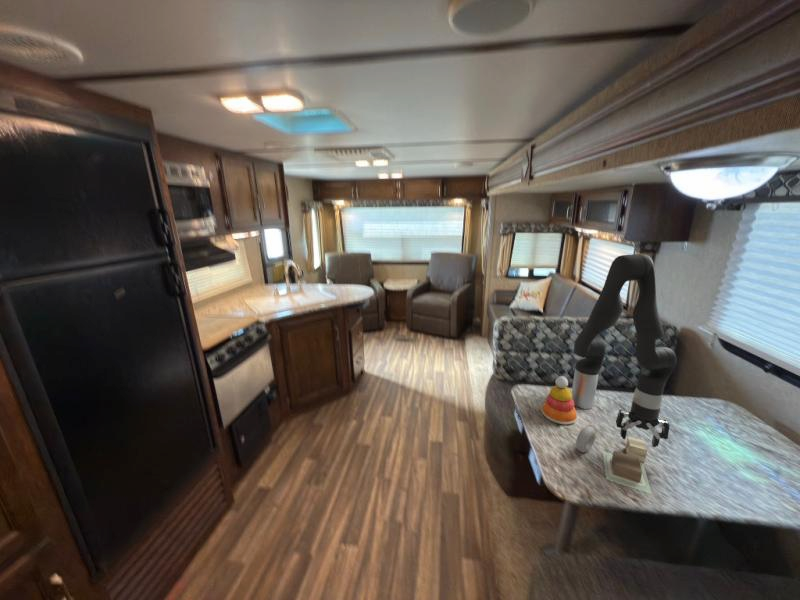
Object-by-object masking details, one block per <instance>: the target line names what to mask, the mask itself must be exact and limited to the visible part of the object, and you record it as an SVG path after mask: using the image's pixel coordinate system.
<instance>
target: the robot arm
mask: <svg viewBox="0 0 800 600" xmlns="http://www.w3.org/2000/svg"><path fill="white" fill-rule="evenodd" d="M632 281H636V283H637V286H638V296H637V300H636V302H635V305H634V308H633V312H632V319H633V320H632V321H633V324H634V329H635V333H636V341H635V342H636V344H635V345H636V346H635V359H636V361H637V363H638V364H639V366H641V368H643V369H645V370H643V371H642V372H641V371H640V373H639V375H638V377H637V382H636V387H635V389H634V393H633V396H632V401H631V406H630V411H629V412H626V411H624V410H623V409H619V410H618V413H617V417H616V420H615V424H616V427H617V428H620V437H621V438H622V440H626V439H627V432H628V431H627V430H629V429H632V428H634V427H635V428H638V429H643V430H646V431H648V430H649V431H650V432H651V433H652V439H651V446H652V447H653V448H656V447H658V446H659V444H660V439H661V440H662V439H664V440H668V439H669V431H670V424H669V421H668V420H667V419H663V420H661V419H659V416H660V411H661V407H662V405H663V394H664V391H665V386H666V383H667V381H668V380H669V378H670V376H671V375H672V373H673V372H674V370H675V368H676V366H677V362H678V361H677V360H678V359H677V355H676V353H675V351H673V349H672V348H669V347H667V346H656V343H657V342H656V341H658V340H660V339H662V338H664V336H665V335H664V334H665V333H664V329H663V325H662V321H661V317H660V315H659V310H658V302H657V285H656V269H655V263H654V261H653V259H652V257H650V255H648V254H645V253H636V254H635V253H634V254H622V255H618V256H616V257H615V258H614V259H613V261H612V263H611V264H610V267H609V269H608V272H607V276H606V279H605V282H604V285H603V288H602V289H601V292H600V294H599V296H598V298H597V300H596V302H595V304H594V306H593V308H592V310H591V312H590V314H589V317H588V319H587V320H586V323H585V324H584V326H583V328H582V329H581V331H580V332H579V334H578V335H577V337H576V339H575V341H574V344H573V351H574V353H575V355H576V356H578V357H580V358H583V359H580V360H578V361H576V362H575V368H574V376H573V380H572V387H571V388H572V389H571V393H572V399H573V401H574V407H577V408H579V409H583V410H584V409H585V410H590V409H592V408H593V407H594V404H595V398H596V392H597V386H598V380H599V376H600V371H601V369H602V367H603V364H604V359H605V356H606V351H607V350H606V348H607V347H606V342H605V340H604V338H602V337H600V335H601V334H603V333H605V331H607V330H609V329H611V328H612V327H614V326H615V325H616V324H617V322H618V320H619V319H620V317H621V315H622V313H623V312H624V303H623V301H622V297H621V291H622V290H623V287H624V285H625V284H626V283H627V282H632ZM627 417H628V419H626V418H627ZM624 419H626V421H625V422H623V421H624ZM659 425H660V428H661V432H659V431H658V430H657V429H656V426H659Z"/></svg>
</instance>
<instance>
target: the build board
mask: <svg viewBox="0 0 800 600" xmlns="http://www.w3.org/2000/svg"><path fill="white" fill-rule="evenodd" d="M612 456H613V452H612V453H611V452H608V451H604V450H602V457H603V465H604V474H605V480H607V481H611V482H613V483H616V484H620V485H623V486H625V487H628V488H632V489H634V490H638V491H640V492H644V493H647V494H650V495H653V493H652V491H651V490H652V489H651V487H650V483H649V479H648V476H647V472H646V469H645V465H644V462H642V461H639V462H640V466H641V470H642V476H641V480H640V482H637V481H634V480H630V479H627V478H624V477H621V476H618V475H615V474H614V471H613V465H612Z"/></svg>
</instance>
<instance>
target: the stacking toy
mask: <svg viewBox="0 0 800 600" xmlns="http://www.w3.org/2000/svg"><path fill="white" fill-rule="evenodd" d="M568 386H569V381H568V379H567V378H566V377H565V376H563V375H560V376H558V377H557V378H556V379H555V385H553V387H552V388H551V389H550V392H549V394H548V395H547V397H546V400H545V402H544V403H543V405H542V406H541V408H540V409H541V410H540V411H541V413H542V415H544V417H545V418H546V419H548V420H549V421H551V422H553V423H556V424H560V425H573V424H574V423H576V422H577V421H578V419H579V416H578V415H579V414H578V413H577V410H576V408H575V407H576V406H575V405H574V401H573V399H572V390H571V389H570V388H569V387H568Z"/></svg>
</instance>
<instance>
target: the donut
mask: <svg viewBox="0 0 800 600" xmlns="http://www.w3.org/2000/svg"><path fill="white" fill-rule="evenodd" d="M596 437H597V433H596V429H594V427H592V426H584V427H583V428H581V430H580V431H579V433H578V435H577V437H576V441H575V448H576V449H577V450H578V451H579V452H581V453H588V451H590V450H591V448H592V447H593V445H594V443H595V441H596Z"/></svg>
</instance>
